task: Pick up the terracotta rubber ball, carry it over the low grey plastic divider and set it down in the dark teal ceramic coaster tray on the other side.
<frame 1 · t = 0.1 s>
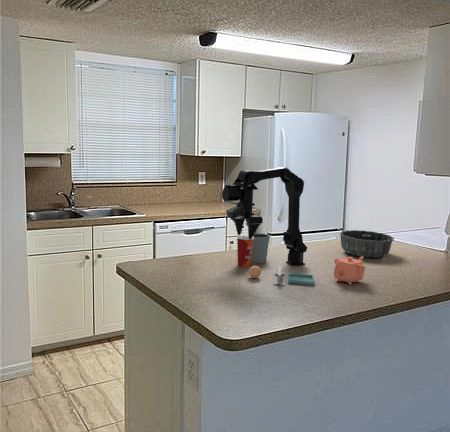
hand: (244, 236, 203), 15 cm above the worktop, fingers open, 9 cm apart
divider: (279, 279, 193), on the worktop
coaster tray: (300, 281, 192), on the worktop
pink piggy bank: (348, 281, 194), on the worktop
bundt pan: (365, 254, 243), on the worktop
paper cup: (244, 266, 212), on the worktop
grey tapered cup: (257, 260, 223), on the worktop
ball: (254, 277, 194), on the worktop
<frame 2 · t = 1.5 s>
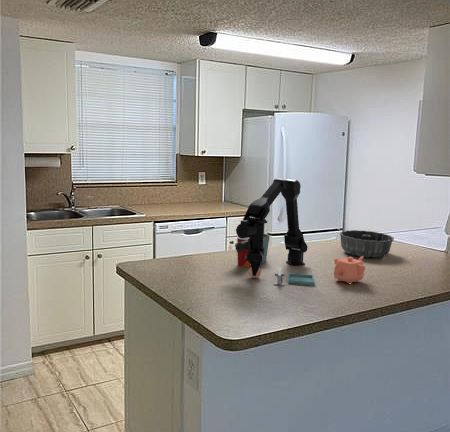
hand: (255, 272, 194), 2 cm above the worktop, fingers open, 9 cm apart
nothing on the worktop moved.
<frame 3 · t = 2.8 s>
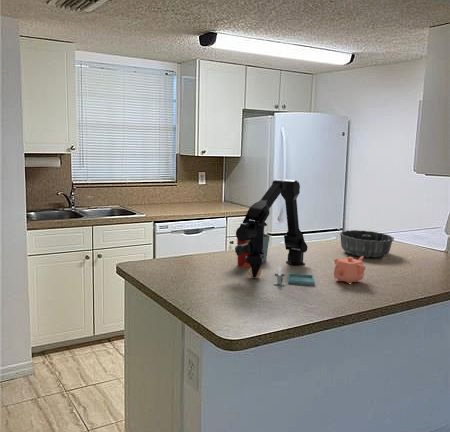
hand: (254, 275, 194), 1 cm above the worktop, fingers closed on ball, 5 cm apart
ball: (254, 277, 194), on the worktop, touching gripper
everything else where it was.
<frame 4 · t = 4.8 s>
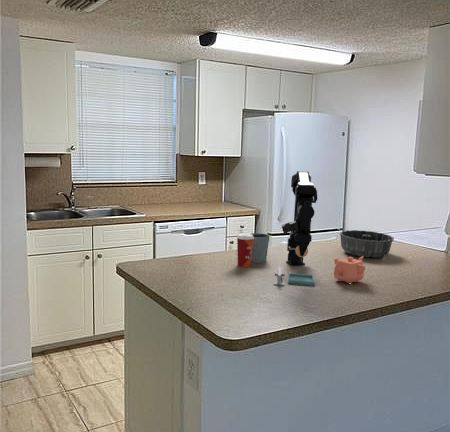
hand: (301, 254, 190), 11 cm above the worktop, fingers closed on ball, 5 cm apart
ball: (301, 256, 190), point 10 cm above the worktop, touching gripper
everything else where it was.
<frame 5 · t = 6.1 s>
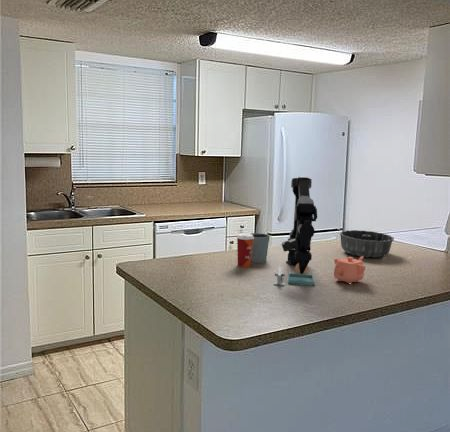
hand: (301, 271, 191), 4 cm above the worktop, fingers closed on ball, 5 cm apart
ball: (301, 274, 192), point 3 cm above the worktop, touching gripper
everything else where it was.
when the fingers open (3 cm above the worktop, at t = 7.1 s): ball drops 1 cm, resting on coaster tray.
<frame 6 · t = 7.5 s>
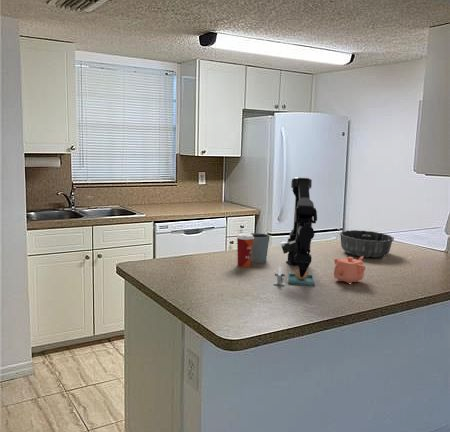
hand: (301, 273, 191), 3 cm above the worktop, fingers open, 9 cm apart
ball: (300, 279, 192), resting on coaster tray
everything else where it was.
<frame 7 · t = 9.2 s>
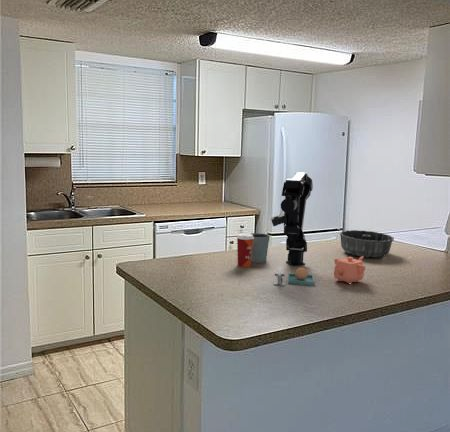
hand: (290, 245, 202), 12 cm above the worktop, fingers open, 9 cm apart
nothing on the worktop moved.
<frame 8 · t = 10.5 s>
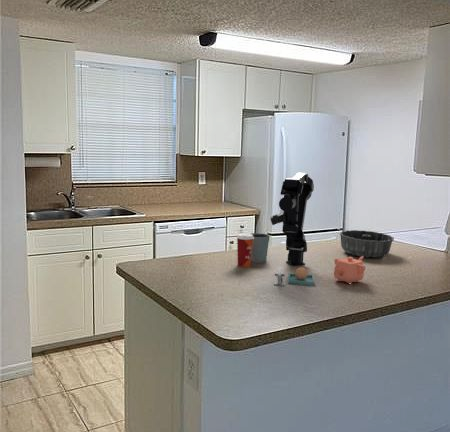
hand: (289, 244, 203), 12 cm above the worktop, fingers open, 9 cm apart
nothing on the worktop moved.
at the end: ball inside the target area on the coaster tray (0.0 cm from its centre), point 0.5 cm above the coaster tray's base; the gripper is holding nothing; ball point 0.5 cm above the worktop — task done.
